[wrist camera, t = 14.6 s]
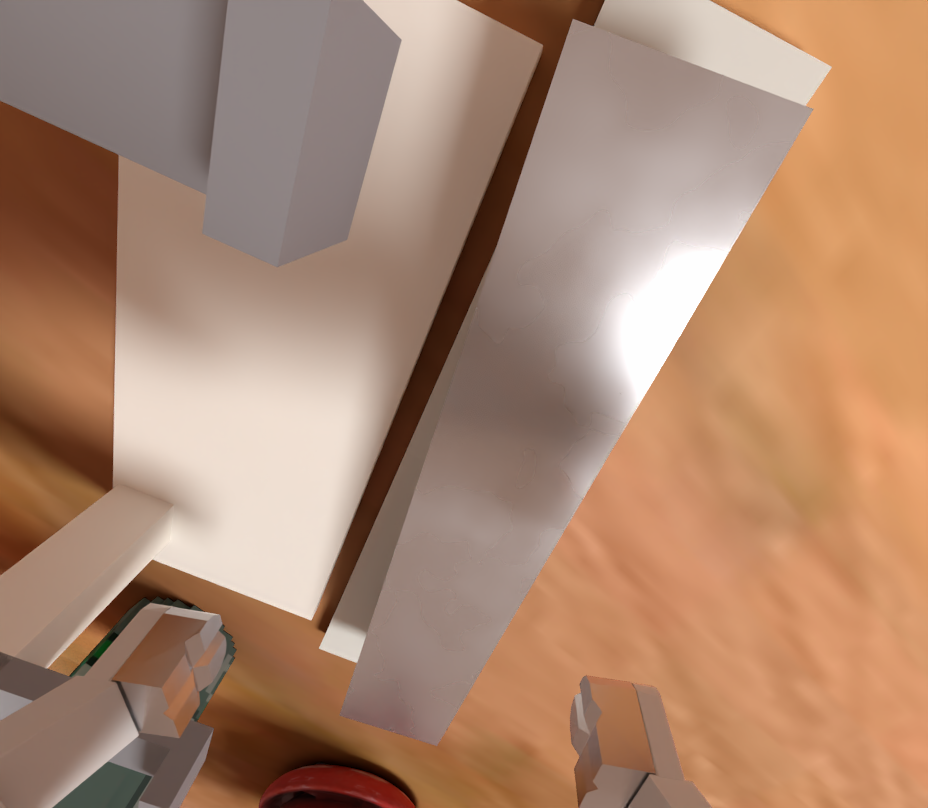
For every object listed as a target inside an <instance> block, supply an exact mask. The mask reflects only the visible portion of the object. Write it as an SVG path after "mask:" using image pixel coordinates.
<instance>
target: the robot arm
mask: <svg viewBox="0 0 928 808" xmlns="http://www.w3.org/2000/svg"><path fill="white" fill-rule="evenodd" d="M221 626H222V621H221V617H220V615H218V614H212V613H206V612H200V611H194V610H188V609H182V608H177V607H173V606H167V605H160V604H154V603H150V604H148V605H147V606H145V607H144V608H143V609H141V610H140V611H139V612H138V613H137V615H136V616H135V617H134V618H133V619H132V620H131V622H130V623H129V624H128V625H127V626H126V628H125V629H124V630H123V631H122V632H121V633H120V635H119V636H118V637H117V638H116V639H115V640H114V642H113V643H112V644H111V645H110V646H109V648H108V649H107V650H106V651H105V652H104V653H103V655H102V656H101V657H100V658H99V659H98V660H97V662H96V663H95V664H94V665H93V666H92V667H91V669H90V670H89V671H88V672H87V673H86V675H85V676H75V677H73V678H72V679H70V680H68V681H67V682H65V683H63V684H62V685H60V686H58V687H57V688H55V689H53V690H51V691H50V692H48V693H46V694H45V695H43V696H41V697H40V698H38V699H36V700H34V701H33V702H31V703H29V704H28V705H26V706H24V707H23V708H21V709H19V710H18V711H16V712H14V713H12V714H11V715H9V716H7V717H6V718H4V719H2V720H1V721H0V808H52V807H53V806H55V805H56V804H57V803H58V802H59V801H61V800H62V799H63V798H64V797H65V796H67V795H68V794H69V793H70V792H71V791H73V790H74V789H75V788H76V787H78V786H79V785H80V784H81V783H82V782H84V781H85V780H86V779H87V778H88V777H90V776H91V775H92V774H93V773H94V772H96V771H97V770H98V769H99V768H100V767H102V766H103V765H104V764H105V763H106V762H108V761H109V760H110V759H111V758H112V757H114V756H115V755H116V754H117V753H118V752H120V751H121V750H122V749H123V748H124V747H126V746H127V745H128V744H129V743H130V742H132V741H133V740H134V739H135V738H136V737H138V736H139V733H146V734H153V735H160V736H168V737H175V738H180V737H181V735H182V733H183V732H184V730H185V728H186V727H187V725H188V723H189V722H190V720H191V718H192V716H193V715H194V713H195V711H196V710H197V708H198V706H199V705H200V697H199V692H200V691H201V690H203V689H204V688H205V687H207V686H208V685H210V684H211V683H212V682H213V681H214V679H215V677H216V675H217V674H218V672H219V670H220V668H221V665H222V663H223V660H224V657H225V654H226V645H227V644H226V638H225V636H224V635H223V634H222V633H221V632H219V631H218V630H219V629H220V627H221ZM580 689H581V693H579V694H577V695H575V697H574V700H573V703H572V706H571V715H570V731H571V742H572V745H573V747H574V748H575V750H576V751H577V753H578V754H579V756H580V757H579V759H578V762H577V764H576V766H575V768H574V771H575V780H576V789H577V798H578V807H579V808H712V807H711V805H710V804H709V803H708V801H707V800H706V799H705V797H704V796H703V795H702V793H701V792H700V791H699V790H698V788H697V787H696V786H695V784H694V783H693V782H692V781H688V780H685V778H684V775H683V771H682V768H681V765H680V761H679V758H678V754H677V751H676V747H675V744H674V740H673V737H672V734H671V730H670V727H669V723H668V720H667V716H666V713H665V709H664V706H663V702H662V699H661V696H660V693H659V692H658V690H657V689H656V688H655V687H654V686H650V685H643V684H637V683H631V682H627V681H620V680H613V679H607V678H600V677H593V676H584V677H583V678H582V680H581V682H580ZM138 732H139V733H138Z"/></svg>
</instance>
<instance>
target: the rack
mask: <svg viewBox="0 0 928 808" xmlns="http://www.w3.org/2000/svg"><path fill="white" fill-rule="evenodd" d="M542 50H543V45H542V44H540V43H538V42H536V41H535V40H533V39H531V38H529V37H527V36H525V35H523V34H521V33H519V32H517V31H515V30H513V29H511V28H509V27H508V26H506V25H504V24H502V23H500V22H498V21H496V20H494V19H492V18H490V17H488V16H486V15H484V14H482V13H480V12H479V11H477V10H475V9H473V8H471V7H469V6H467V5H465V4H463V3H461V2H459V1H457V0H0V101H2V102H4V103H6V104H9V105H11V106H13V107H15V108H17V109H20V110H22V111H24V112H26V113H28V114H31V115H33V116H35V117H37V118H39V119H41V120H44V121H46V122H48V123H50V124H52V125H55V126H57V127H59V128H61V129H63V130H66V131H68V132H70V133H72V134H74V135H77V136H79V137H81V138H83V139H85V140H87V141H90V142H92V143H94V144H96V145H98V146H101V147H103V148H105V149H107V150H109V151H112V152H114V153H116V154H118V155H119V170H118V225H117V281H116V337H115V392H114V448H113V489H112V490H111V491H109V492H108V493H107V494H105V495H104V496H103V497H102V498H100V499H99V500H98V501H96V502H95V503H94V504H93V505H91V506H90V507H89V508H87V509H86V510H85V511H83V512H82V513H81V514H80V515H78V516H77V517H76V518H74V519H73V520H72V521H70V522H69V523H68V524H67V525H65V526H64V527H63V528H61V529H60V530H59V531H58V532H56V533H55V534H54V535H52V536H51V537H50V538H48V539H47V540H46V541H45V542H43V543H42V544H41V545H39V546H38V547H37V548H35V549H34V550H33V551H32V552H30V553H29V554H28V555H26V556H25V557H24V558H23V559H21V560H20V561H19V562H17V563H16V564H15V565H13V566H12V567H11V568H10V569H8V570H7V571H6V572H4V573H3V574H2V575H0V721H1V720H2V719H4V718H6V717H7V716H9V715H11V714H12V713H14V712H16V711H18V710H19V709H21V708H23V707H24V706H26V705H28V704H29V703H31V702H33V701H34V700H36V699H38V698H40V697H41V696H43V695H45V694H46V693H48V692H50V691H51V690H53V689H55V688H57V687H58V686H60V685H62V684H63V683H65V682H67V681H68V680H70V679H72V677H69V676H66V675H63V674H61V673H58V672H55V671H52V670H49V669H47V668H48V667H49V666H50V665H51V664H52V663H53V662H54V661H55V660H56V659H57V658H58V657H59V656H60V654H61V653H62V652H63V651H64V650H65V649H66V648H67V647H68V646H69V645H70V644H71V643H72V642H73V641H74V640H75V639H76V638H77V637H78V636H79V635H80V634H81V633H82V632H83V631H84V630H85V628H86V627H87V626H88V625H89V624H90V623H91V622H92V621H93V620H94V619H95V618H96V617H97V616H98V615H99V614H100V613H101V612H102V611H103V610H104V609H105V608H106V607H107V606H108V605H109V604H110V603H111V601H112V600H113V599H114V598H115V597H116V596H117V595H118V594H119V593H120V592H121V591H122V590H123V589H124V588H125V587H126V586H127V585H128V584H129V583H130V582H131V581H132V580H133V579H134V578H135V577H136V575H137V574H138V573H139V572H140V571H141V570H142V569H143V568H144V567H145V566H146V565H147V564H148V563H149V562H150V561H151V560H152V559H153V560H155V561H158V562H160V563H163V564H166V565H168V566H171V567H173V568H176V569H179V570H181V571H184V572H186V573H189V574H192V575H194V576H197V577H199V578H202V579H205V580H207V581H210V582H213V583H215V584H218V585H220V586H223V587H226V588H228V589H231V590H233V591H236V592H239V593H241V594H244V595H246V596H249V597H252V598H254V599H257V600H259V601H262V602H265V603H267V604H270V605H272V606H275V607H278V608H280V609H283V610H285V611H288V612H291V613H293V614H296V615H298V616H301V617H304V618H306V619H309V620H312V618H313V616H314V614H315V612H316V610H317V607H318V605H319V603H320V600H321V598H322V595H323V593H324V590H325V588H326V585H327V583H328V581H329V578H330V576H331V573H332V571H333V568H334V566H335V563H336V561H337V558H338V556H339V553H340V551H341V548H342V546H343V543H344V541H345V539H346V536H347V534H348V531H349V529H350V526H351V524H352V521H353V519H354V516H355V514H356V511H357V509H358V506H359V504H360V501H361V499H362V497H363V494H364V492H365V489H366V487H367V484H368V482H369V479H370V477H371V474H372V472H373V469H374V467H375V464H376V462H377V459H378V457H379V455H380V452H381V450H382V447H383V445H384V442H385V440H386V437H387V435H388V432H389V430H390V427H391V425H392V422H393V420H394V417H395V415H396V413H397V410H398V408H399V405H400V403H401V400H402V398H403V395H404V393H405V390H406V388H407V385H408V383H409V380H410V378H411V375H412V373H413V371H414V368H415V366H416V363H417V361H418V358H419V356H420V353H421V351H422V348H423V346H424V343H425V341H426V338H427V336H428V333H429V331H430V329H431V326H432V324H433V321H434V319H435V316H436V314H437V311H438V309H439V306H440V304H441V301H442V299H443V296H444V294H445V292H446V289H447V287H448V284H449V282H450V279H451V277H452V274H453V272H454V269H455V267H456V264H457V262H458V259H459V257H460V254H461V252H462V250H463V247H464V245H465V242H466V240H467V237H468V235H469V232H470V230H471V227H472V225H473V222H474V220H475V217H476V215H477V212H478V210H479V208H480V205H481V203H482V200H483V198H484V195H485V193H486V190H487V188H488V185H489V183H490V180H491V178H492V175H493V173H494V170H495V168H496V166H497V163H498V161H499V158H500V156H501V153H502V151H503V148H504V146H505V143H506V141H507V138H508V136H509V133H510V131H511V128H512V126H513V124H514V121H515V119H516V116H517V114H518V111H519V109H520V106H521V104H522V101H523V99H524V96H525V94H526V91H527V89H528V86H529V84H530V82H531V79H532V77H533V74H534V72H535V69H536V67H537V64H538V62H539V59H540V57H541V54H542ZM213 730H214V728H212V727H209V726H207V725H204V724H201V723H198V722H195V721H193V720H190V722H189V723H188V725H187V727H186V728H185V730H184V732H183V733H182V735H181V737H180V738H175V737H168V736H160V735H153V734H146V733H139V732H138V733H139V736H138V737H136V738H135V739H134V740H133V741H132V742H130V743H129V744H128V745H127V746H126V747H124V748H123V749H122V750H121V751H120V752H118V753H117V754H116V755H115V756H114V757H112V758H111V759H110V760H109V761H108V762H111V763H114V764H117V765H120V766H123V767H126V768H129V769H132V770H134V771H137V772H140V773H143V774H146V775H149V776H152V777H153V779H152V780H151V782H150V783H149V785H148V787H147V788H146V790H145V792H144V793H143V795H142V796H141V798H140V800H139V805H138V808H179V807H180V806H181V804H182V802H183V800H184V798H185V796H186V795H187V793H188V791H189V789H190V787H191V785H192V784H193V782H194V780H195V778H196V776H197V774H198V773H199V771H200V769H201V767H202V765H203V763H204V762H205V759H206V756H207V752H208V748H209V745H210V741H211V737H212V734H213Z"/></svg>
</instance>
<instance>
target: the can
mask: <svg viewBox="0 0 928 808" xmlns="http://www.w3.org/2000/svg"><path fill="white" fill-rule="evenodd" d="M150 603H154V604H160V605H167V606H173V607H177V608H182V609H188V610H194V611H200V612H203V611H202V610H200V609H199V608H197V607H196V606H192V607H191V608H190V607H188V606H187V605H185V604H184V603H182V602H181V601H179V600H176V601H175V602H173V601H172V600H170V599H169V598H167V599H166V600H163V599H161V598H160V597H158V596H157V597H156V598H155V599H154V600H152V601H151V602H150V601H149V600H147V599H146V598H143V599H142V600H141V601H140V602H138V603H137V604H136V605H135V606H133V607H132V608H131V609H130V610H129V611H128V612H127V613H126V614H125V615H124V616H123V617H122V618H121V619H120V620H119V621H118V623H117V624H116V625H115V626H114V627H113V628H112V629H111V630H110V631H109V633H108V634H107V635H106V636H105V637H104V638H103V639H102V640H101V641H100V643H99V644H98V645H97V646H96V647H95V648H94V649H93V650H92V651H91V652H90V654H89V655H88V656H87V657H86V658H85V659H84V660H83V661H82V662H81V664H80V665H79V666H78V667H77V668H76V669H75V670H74V671H73V672H72V673H71V675H70V676H69V677H72V678H73V677H75V676H85V675H86V673H87V672H88V671H89V670H90V669H91V667H92V666H93V665H94V664H95V663H96V662H97V660H98V659H99V658H100V657H101V656H102V655H103V653H104V652H105V651H106V650H107V649H108V648H109V646H110V645H111V644H112V643H113V642H114V640H115V639H116V638H117V637H118V636H119V635H120V633H121V632H122V631H123V630H124V629H125V628H126V626H127V625H128V624H129V623H130V622H131V620H132V619H133V618H134V617H135V616H136V615H137V613H138V612H139V611H140V610H141V609H143V608H144V607H145V606H147V605H148V604H150ZM224 627H225V626H223V625H222V626H221V627H220V629H219V630H218V631H219V632H221V633H222V634H223V635H224V636H225V638H226V644H227V645H226V654H225V657H224V660H223V663H222V665H221V668H220V670H219V672H218V674H217V675H216V677H215V679H214V681H213V682H212V683H211V684H210V685H208V686H207V687H205V688H204V689H203V690H201V691H200V692H199V697H200V705H199V706H198V708H197V710H196V711H195V713H194V715H193V716H192V718H191V720H193V721H195V722H197V720H198V719H199V717H200V715H201V714H202V712H203V710H204V709H205V707H206V705H207V704H208V702H209V700H210V699H211V697H212V695H213V694H214V692H215V690H216V689H217V687H218V685H219V684H220V682H221V680H222V679H223V677H224V675H225V674H226V672H227V670H228V669H229V667H230V665H231V664H232V662H233V660H234V659H235V658H234V657H233V655H234V653H235V652H236V649H235V648H233V646H234V644H235V643H233V642H232V641H231V639H232V638H233V637H232V636H230V635H229V634H227V633H226V632H225V631H223V628H224ZM152 779H153V777H152V776H149V775H146V774H143V773H140V772H137V771H134V770H132V769H129V768H126V767H123V766H120V765H117V764H114V763H111V762H106V763H105V764H104V765H103V766H102V767H100V768H99V769H98V770H97V771H96V772H94V773H93V774H92V775H91V776H90V777H88V778H87V779H86V780H85V781H84V782H82V783H81V784H80V785H79V786H78V787H76V788H75V789H74V790H73V791H71V792H70V793H69V794H68V795H67V796H65V797H64V798H63V799H62V800H61V801H59V802H58V803H57V804H56V805H55V806H53V807H52V808H138V805H139V800H140V798H141V796H142V795H143V793H144V792H145V790H146V788H147V787H148V785H149V783H150V782H151V780H152Z"/></svg>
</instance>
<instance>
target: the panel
mask: <svg viewBox="0 0 928 808" xmlns="http://www.w3.org/2000/svg"><path fill="white" fill-rule="evenodd" d="M594 27H596V28H599V29H602V30H604V31H607V32H610V33H612V34H615V35H617V36H620V37H623V38H625V39H628V40H631V41H633V42H636V43H639V44H641V45H644V46H647V47H649V48H652V49H655V50H657V51H660V52H663V53H665V54H668V55H671V56H673V57H676V58H679V59H681V60H684V61H687V62H689V63H692V64H695V65H697V66H700V67H703V68H705V69H708V70H711V71H713V72H716V73H719V74H721V75H724V76H727V77H729V78H732V79H735V80H737V81H740V82H743V83H745V84H748V85H751V86H753V87H756V88H759V89H761V90H764V91H767V92H769V93H772V94H775V95H777V96H780V97H783V98H785V99H788V100H791V101H793V102H796V103H799V104H801V105H804V106H806V104H807V103H808V101H809V100H810V98H811V97H812V96H813V94H814V93H815V91H816V90H817V88H818V87H819V85H820V84H821V82H822V81H823V79H824V78H825V76H826V75H827V73H828V72H829V71H830V69H831V68H832V67H831V66H829V65H827V64H825V63H824V62H822V61H820V60H818V59H816V58H814V57H813V56H811V55H809V54H807V53H805V52H803V51H802V50H800V49H798V48H796V47H794V46H792V45H791V44H789V43H787V42H785V41H783V40H781V39H780V38H778V37H776V36H774V35H772V34H770V33H769V32H767V31H765V30H763V29H761V28H759V27H758V26H756V25H754V24H752V23H750V22H748V21H747V20H745V19H743V18H741V17H739V16H737V15H736V14H734V13H732V12H730V11H728V10H726V9H725V8H723V7H721V6H719V5H717V4H715V3H714V2H712V1H710V0H605V1H604V4H603V6H602V8H601V10H600V13H599V15H598V17H597V19H596V22H595V24H594ZM496 247H497V246H496ZM495 250H496V248H495ZM494 253H495V251H494ZM494 253H493V255H492V257H491V260H490V262H489V264H488V267H487V269H486V271H485V273H484V276H483V278H482V280H481V282H480V285H479V287H478V289H477V291H476V294H475V296H474V298H473V301H472V303H471V305H470V307H469V310H468V312H467V314H466V316H465V319H464V321H463V323H462V325H461V328H460V330H459V332H458V335H457V337H456V339H455V341H454V344H453V346H452V348H451V350H450V353H449V355H448V357H447V359H446V362H445V364H444V366H443V369H442V371H441V373H440V375H439V378H438V380H437V382H436V384H435V387H434V389H433V391H432V393H431V396H430V398H429V400H428V403H427V405H426V407H425V409H424V412H423V414H422V416H421V418H420V421H419V423H418V425H417V427H416V430H415V432H414V434H413V437H412V439H411V441H410V443H409V446H408V448H407V450H406V452H405V455H404V457H403V459H402V461H401V464H400V466H399V468H398V471H397V473H396V475H395V477H394V480H393V482H392V484H391V486H390V489H389V491H388V493H387V495H386V498H385V500H384V502H383V505H382V507H381V509H380V511H379V514H378V516H377V518H376V520H375V523H374V525H373V527H372V529H371V532H370V534H369V536H368V539H367V541H366V543H365V545H364V548H363V550H362V552H361V554H360V557H359V559H358V561H357V563H356V566H355V568H354V570H353V573H352V575H351V577H350V579H349V582H348V584H347V586H346V588H345V591H344V593H343V595H342V597H341V600H340V602H339V604H338V607H337V609H336V611H335V613H334V616H333V618H332V620H331V622H330V625H329V627H328V629H327V631H326V634H325V636H324V638H323V641H322V643H321V645H320V647H319V649H322V650H324V651H327V652H329V653H332V654H335V655H337V656H340V657H343V658H345V659H348V660H351V661H353V662H356V663H357V662H358V659H359V656H360V653H361V650H362V647H363V644H364V641H365V638H366V635H367V632H368V629H369V626H370V623H371V620H372V617H373V614H374V611H375V608H376V605H377V602H378V599H379V596H380V593H381V590H382V587H383V584H384V581H385V578H386V575H387V572H388V569H389V566H390V563H391V560H392V557H393V554H394V551H395V548H396V545H397V542H398V539H399V536H400V533H401V530H402V527H403V524H404V521H405V518H406V515H407V512H408V509H409V506H410V503H411V500H412V497H413V495H414V492H415V489H416V486H417V483H418V480H419V477H420V474H421V471H422V468H423V465H424V462H425V459H426V456H427V453H428V450H429V447H430V444H431V441H432V438H433V435H434V432H435V429H436V426H437V423H438V420H439V417H440V414H441V411H442V408H443V405H444V402H445V399H446V396H447V393H448V390H449V387H450V384H451V381H452V378H453V375H454V372H455V369H456V366H457V363H458V360H459V357H460V354H461V351H462V348H463V345H464V342H465V339H466V336H467V333H468V330H469V327H470V324H471V321H472V318H473V315H474V312H475V309H476V306H477V303H478V300H479V298H480V295H481V292H482V289H483V286H484V283H485V280H486V277H487V274H488V271H489V268H490V265H491V262H492V259H493V256H494Z"/></svg>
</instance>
